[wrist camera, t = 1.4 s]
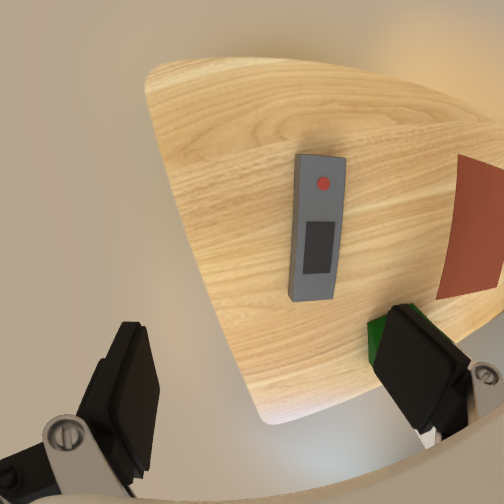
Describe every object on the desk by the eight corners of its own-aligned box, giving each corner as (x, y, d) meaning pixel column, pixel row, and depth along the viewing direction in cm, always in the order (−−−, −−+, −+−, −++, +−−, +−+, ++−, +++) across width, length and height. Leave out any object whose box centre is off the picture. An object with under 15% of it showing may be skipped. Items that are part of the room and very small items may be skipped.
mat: (457, 154, 27) (458, 154, 27) (515, 175, 29) (515, 175, 29) (435, 299, 33) (435, 300, 33) (496, 286, 35) (496, 287, 35)
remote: (294, 154, 25) (301, 154, 23) (338, 157, 25) (347, 158, 23) (287, 294, 29) (292, 303, 27) (327, 291, 30) (333, 299, 28)
